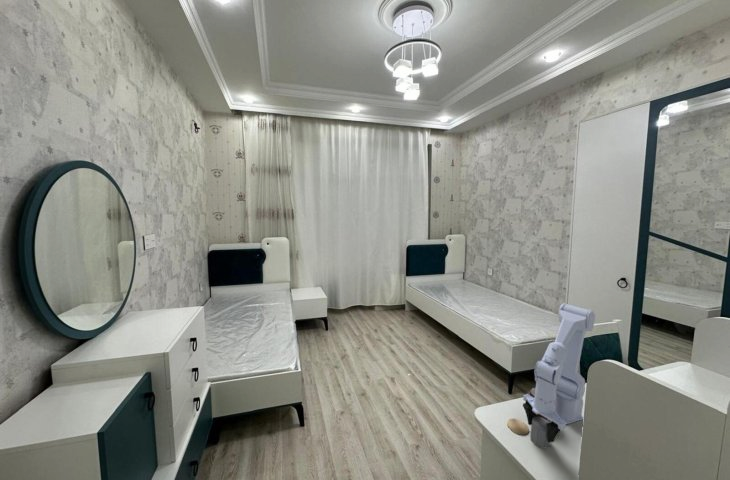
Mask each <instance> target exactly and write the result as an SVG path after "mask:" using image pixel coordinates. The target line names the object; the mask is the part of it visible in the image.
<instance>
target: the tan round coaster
mask: <svg viewBox="0 0 730 480" xmlns="http://www.w3.org/2000/svg"><path fill="white" fill-rule="evenodd" d="M506 423H507V424H506V425H507V427H508V429H509V430H510V431H511V432H513V433H515V434H518V435H521V436H524V435H528V433H529V432H530V428H529V425H528V424H527V423H525V422H524V421H523V420H520V419H517V418H509V419H507V422H506Z"/></svg>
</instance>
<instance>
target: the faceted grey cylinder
mask: <svg viewBox="0 0 730 480" xmlns="http://www.w3.org/2000/svg"><path fill="white" fill-rule="evenodd" d="M547 423H550V420H546V419H544V418H542V417H533V419H532V424H531V425H530V435H529V437H530V441H531V442H532V443H533V444H534V445H535V446H537V447H540V448H542V449H546V448H548V447H550V446H551V442H550V443H549V442H548V441H547V435H548V430H547V426H546V424H547Z"/></svg>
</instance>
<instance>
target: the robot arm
mask: <svg viewBox="0 0 730 480" xmlns="http://www.w3.org/2000/svg"><path fill="white" fill-rule="evenodd" d="M558 308H559V309H558V312H557V313H558V314H557V316H558V320H559V323H560V325H559V328H558V331H557V334H556V336H555V340H554V341H553V342H549V344H548V345H547V348H546V350H545V352H544V353H543V356H542V358H541V360H538V361H537V362H536V364H535V366H534V371H533V373H534V380H535V382H536V383H535V388H536V390H535V398H533V397H532V396H530V393H526V394H523V397H522V398H523V399H522V400H523V401H524V403H522V407H523V409H524V411H525V414H526V418H527V425H528V426H531V424H532V419H533V417H536V414H540V415H542V416H544V417H546V418H547V419H548V421H549V422H550V421H551V422H550V423H547V424H546V426H547V430H548V435H547V441H548V442H549V443H550V444H551V443H553V442H555V440H556V437H557V435H559V433H560V432H561V431H562V430H565V429H566V425H569V424H571V423H572V424H573V423H575V422H578V421H581V420H584V419H583V418H584V416H583V407H584V400H583V398H584V395H585V391H586V386H585V385H586V380H585V378H584V377H583V376H582V375H581V374H580V373H579V366H580V361H581V356H582V350H583V346H584V339H585V335H586V333H587V332H592V331H593V328H594V325H595V320H596V314H595V312H594V310H592V309H586V308H582V307H579V306H574V305H571V304H567V303H565V302H564V303H562V304H561V305H560V307H558ZM554 403H555V405H554Z"/></svg>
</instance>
